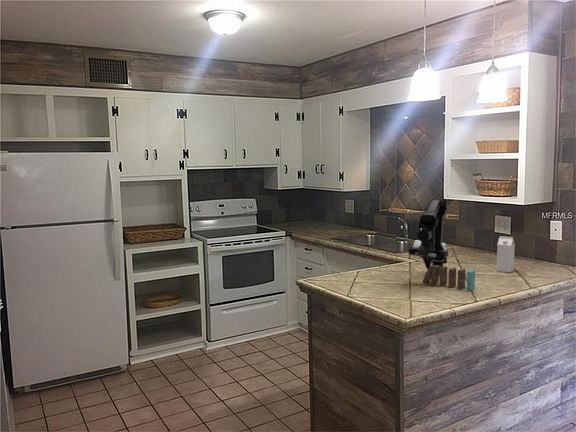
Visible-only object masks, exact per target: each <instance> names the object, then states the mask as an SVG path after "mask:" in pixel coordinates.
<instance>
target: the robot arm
mask: <svg viewBox="0 0 576 432" xmlns="http://www.w3.org/2000/svg"><path fill="white" fill-rule="evenodd" d="M430 201H431V202H430V205H429V206H428V208H427V210H426V211H424V212H422V214H421V215H420V217H419V222H418V229H421V230H419V231H418V233H417V235H416V236H417V237H416V238H417V240H419V241H421V245H420V246H419V247H413V246H412V247H411V248H409V249H408V254H409V255H416V254H415V253H418V254H417V256H419V258H421V259H422V261H423V262H424V266H425V268H426V270H428V268H429V266H431V265H435V266H436V265H439V266H441V267H443V266H444V265H445V264H447V263H448V257H449V251H448V252H447V251H445V249H444V247H443V245H442V242H443V233H444V219H445V217H446V215H447V213H448V211H449V207H450V205H449V202H448V201H446V200H443V198H441V197H435V198H433V197H432V198H431V200H430ZM441 267H440V268H441ZM439 276H440V274H439Z"/></svg>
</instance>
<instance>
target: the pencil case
mask: <svg viewBox="0 0 576 432" xmlns="http://www.w3.org/2000/svg"><path fill="white" fill-rule="evenodd" d="M420 245H421V241H419V240H418V239H417V240H415V241H414V242H413V245H412V248H413V247H419V246H420ZM442 245H443V247H444V249H445V251H447V252H448V253H449V249H448V247H447V245H448V244H447V243H445V242H443V241H442ZM414 255H418V253H415V254H414Z"/></svg>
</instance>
